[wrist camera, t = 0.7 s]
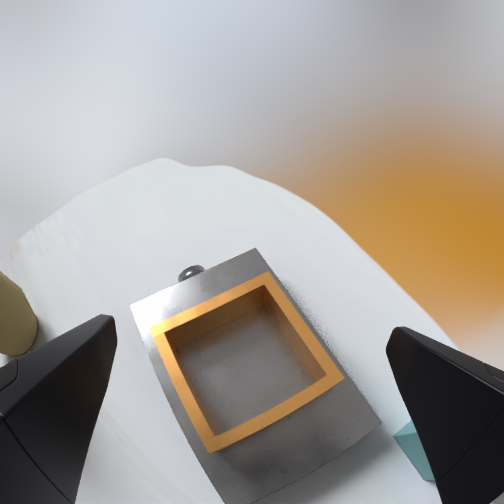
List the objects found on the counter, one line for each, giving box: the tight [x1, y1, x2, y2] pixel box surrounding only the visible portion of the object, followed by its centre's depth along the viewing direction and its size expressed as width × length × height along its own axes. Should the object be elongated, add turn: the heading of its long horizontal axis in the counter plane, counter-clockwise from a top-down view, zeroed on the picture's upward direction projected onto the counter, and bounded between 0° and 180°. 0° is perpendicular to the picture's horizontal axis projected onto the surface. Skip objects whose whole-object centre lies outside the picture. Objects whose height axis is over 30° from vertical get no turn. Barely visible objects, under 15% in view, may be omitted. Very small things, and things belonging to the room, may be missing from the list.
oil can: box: [393, 420, 435, 481], centre depth 13 cm, size 6×6×11 cm
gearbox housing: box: [130, 248, 382, 504], centre depth 20 cm, size 19×12×6 cm, turn 29°
